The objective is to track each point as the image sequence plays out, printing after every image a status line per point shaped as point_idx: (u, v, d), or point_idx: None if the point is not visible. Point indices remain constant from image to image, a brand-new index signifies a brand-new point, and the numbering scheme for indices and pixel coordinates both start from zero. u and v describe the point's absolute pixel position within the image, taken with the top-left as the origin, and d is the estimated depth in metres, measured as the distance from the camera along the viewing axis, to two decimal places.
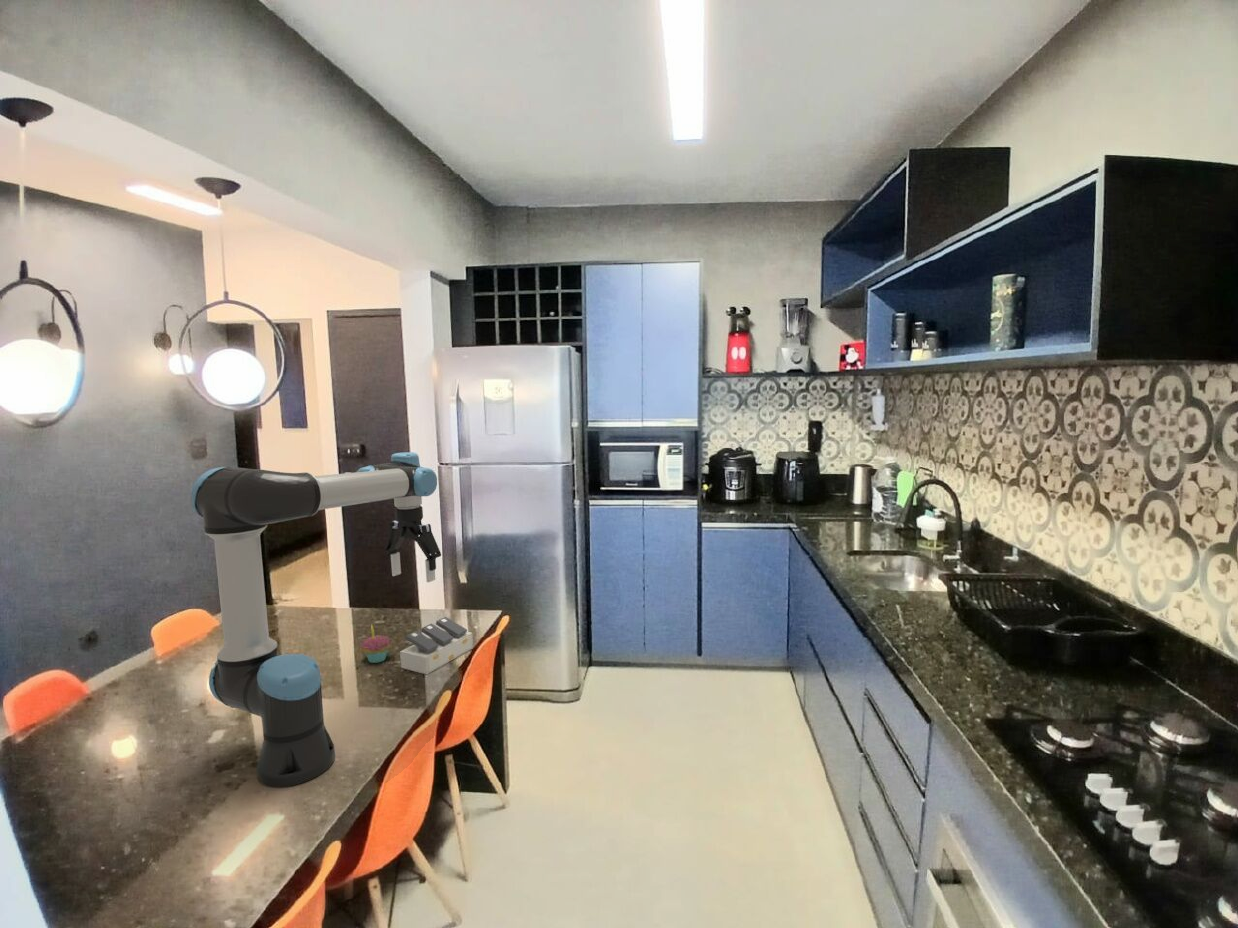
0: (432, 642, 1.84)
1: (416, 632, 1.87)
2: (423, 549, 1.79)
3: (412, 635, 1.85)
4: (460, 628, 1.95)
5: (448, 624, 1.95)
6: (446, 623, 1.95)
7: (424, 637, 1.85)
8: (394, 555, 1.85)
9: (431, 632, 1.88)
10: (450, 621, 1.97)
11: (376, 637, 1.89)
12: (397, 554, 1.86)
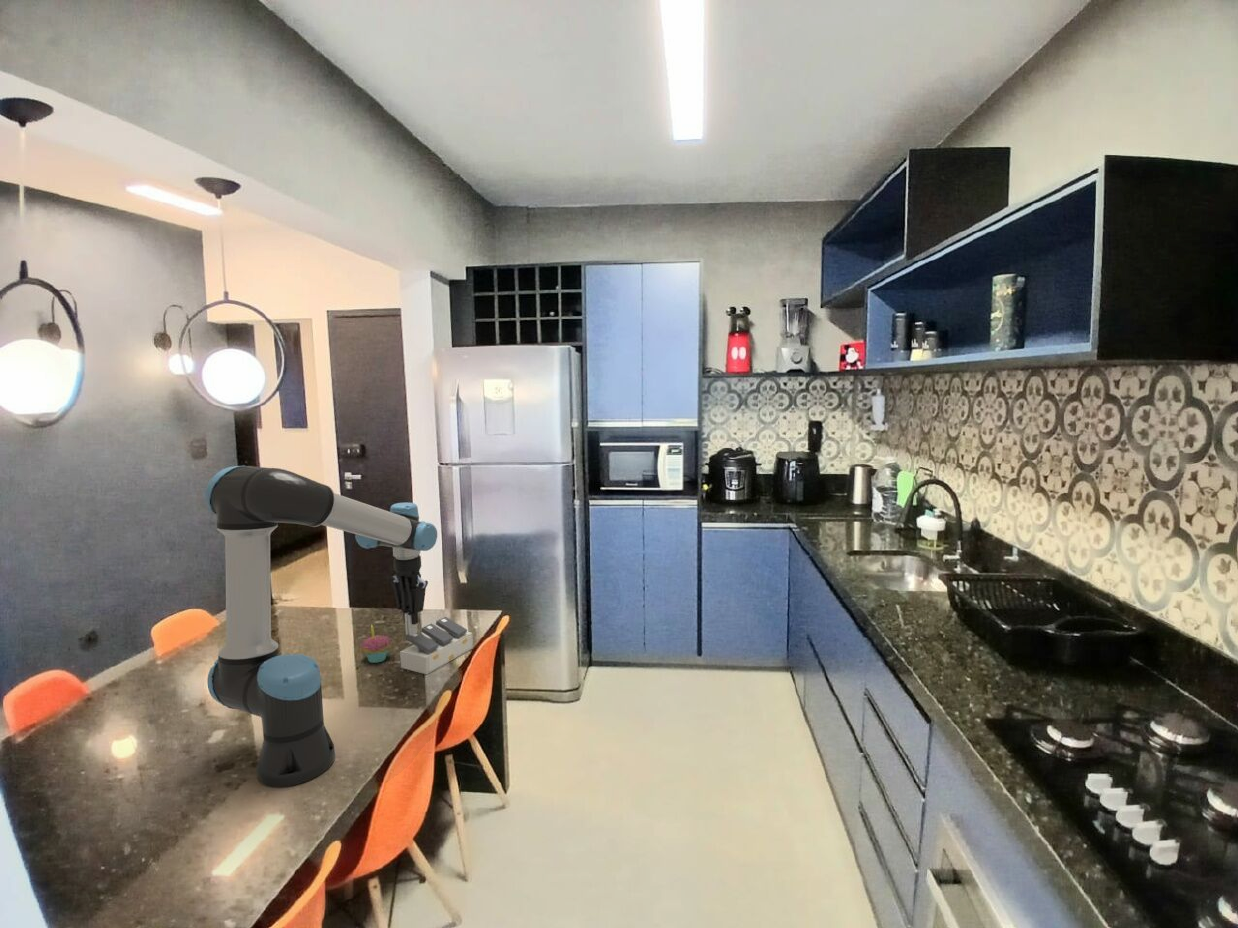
0: (432, 642, 1.84)
1: None
2: (410, 602, 1.83)
3: (412, 636, 1.85)
4: (460, 628, 1.95)
5: (448, 624, 1.95)
6: (446, 623, 1.95)
7: (424, 637, 1.85)
8: (408, 614, 1.85)
9: (431, 632, 1.88)
10: (450, 621, 1.97)
11: (376, 637, 1.89)
12: None
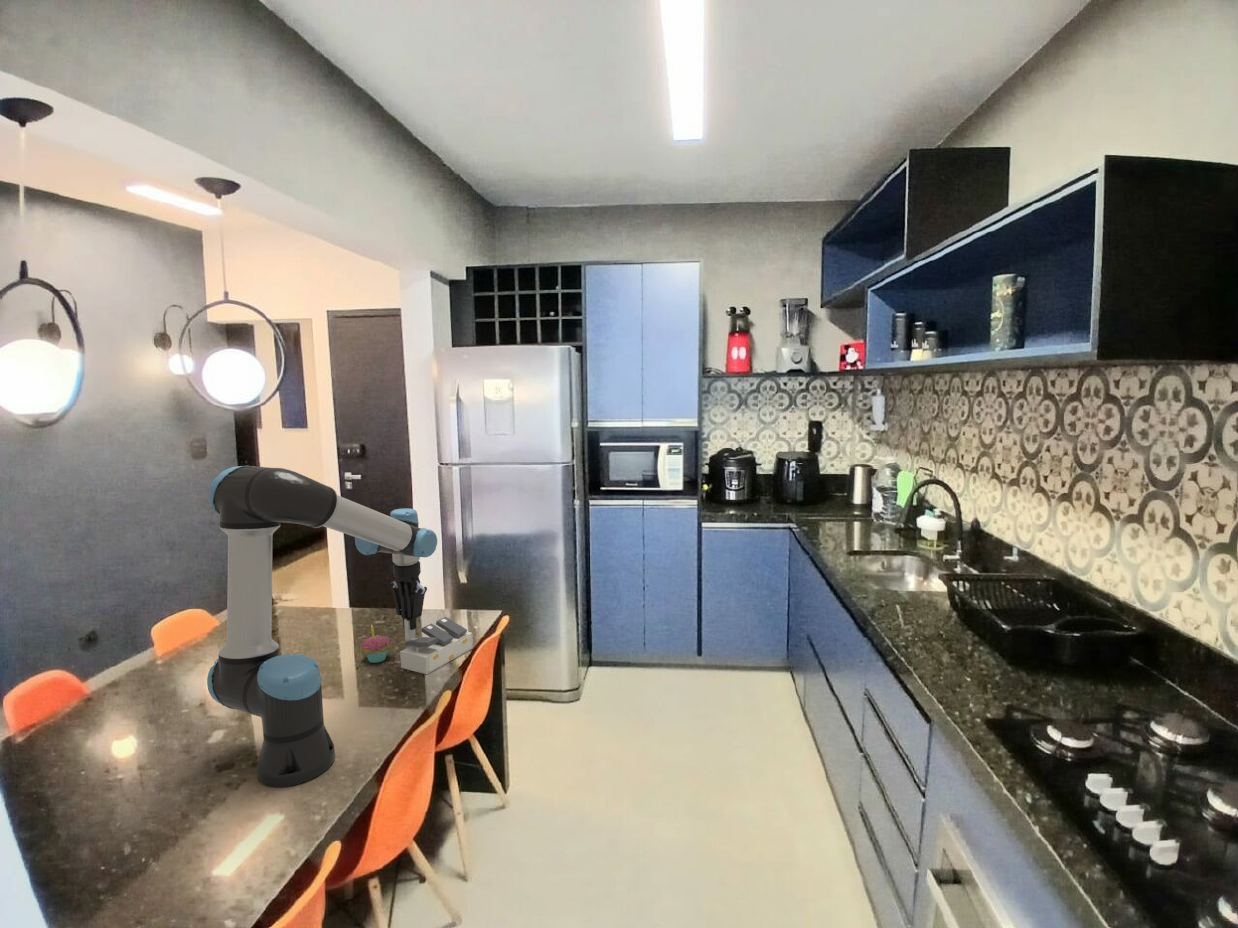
0: (431, 638, 1.84)
1: None
2: (409, 608, 1.83)
3: (411, 640, 1.85)
4: (460, 628, 1.95)
5: (448, 624, 1.95)
6: (446, 623, 1.95)
7: (423, 637, 1.85)
8: None
9: (431, 632, 1.88)
10: (450, 621, 1.97)
11: (376, 637, 1.89)
12: None
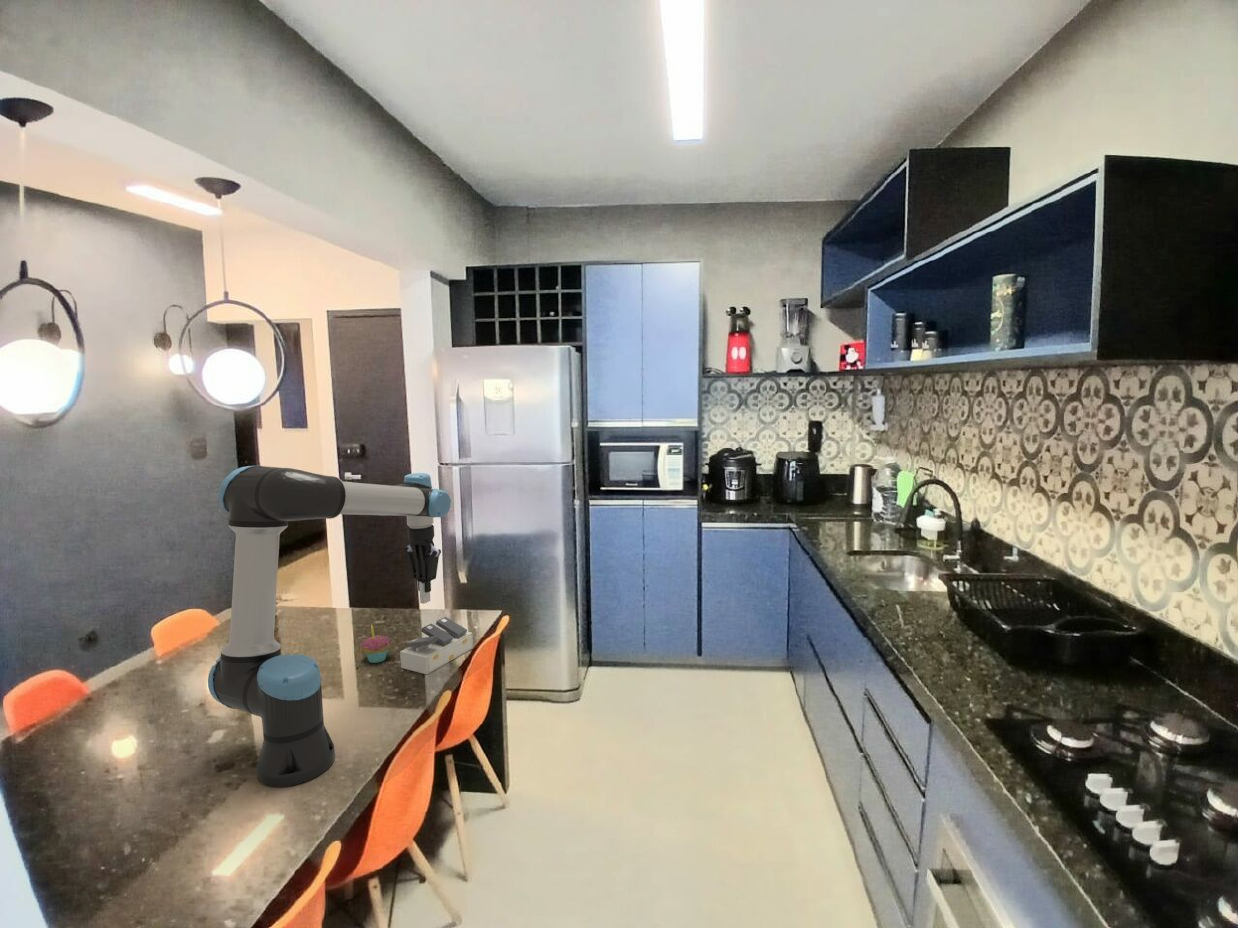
0: (431, 637, 1.84)
1: (415, 639, 1.87)
2: (423, 571, 1.87)
3: (412, 641, 1.85)
4: (460, 628, 1.95)
5: (448, 624, 1.95)
6: (446, 623, 1.95)
7: (423, 638, 1.86)
8: None
9: (431, 632, 1.88)
10: (450, 621, 1.97)
11: (376, 637, 1.89)
12: None
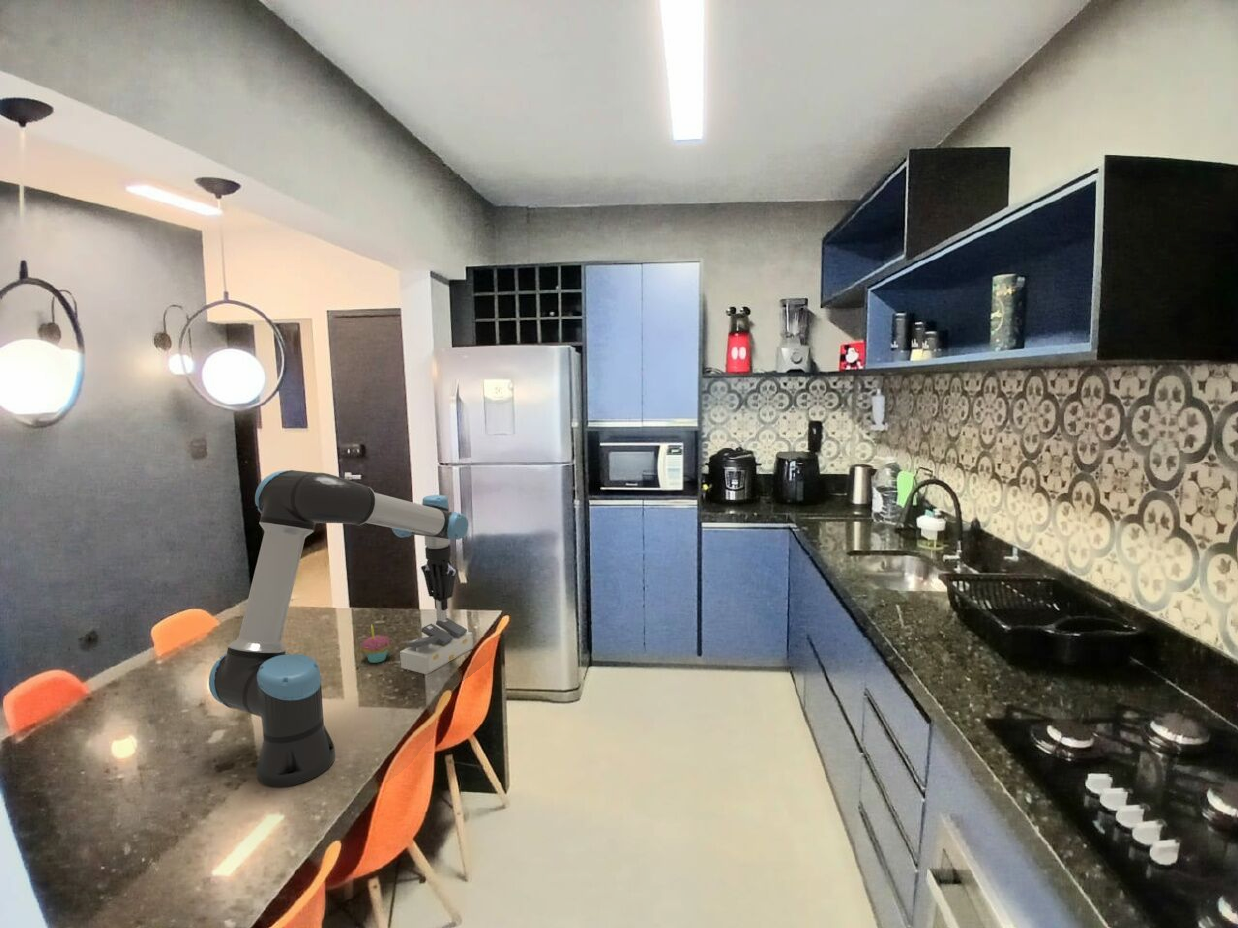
0: (431, 637, 1.84)
1: (415, 639, 1.87)
2: (440, 589, 1.94)
3: (412, 641, 1.85)
4: (460, 628, 1.95)
5: (448, 624, 1.95)
6: (446, 623, 1.95)
7: (423, 638, 1.86)
8: None
9: (431, 632, 1.88)
10: (450, 621, 1.97)
11: (376, 637, 1.89)
12: None
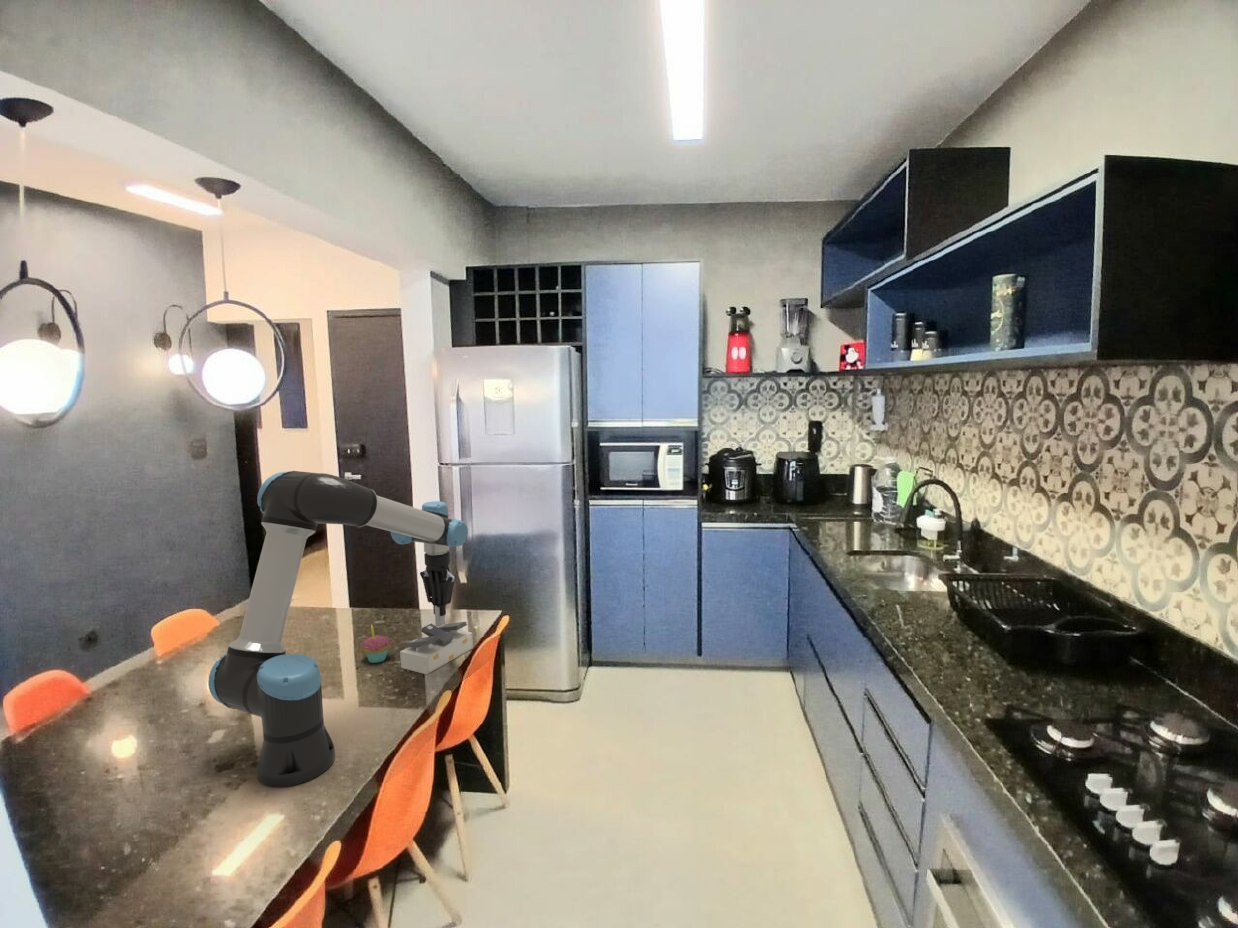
0: (431, 637, 1.84)
1: (415, 639, 1.87)
2: (439, 595, 1.94)
3: (412, 641, 1.85)
4: (459, 623, 1.95)
5: (448, 625, 1.95)
6: (445, 626, 1.95)
7: (423, 638, 1.86)
8: None
9: (431, 632, 1.88)
10: (449, 624, 1.97)
11: (376, 637, 1.89)
12: None
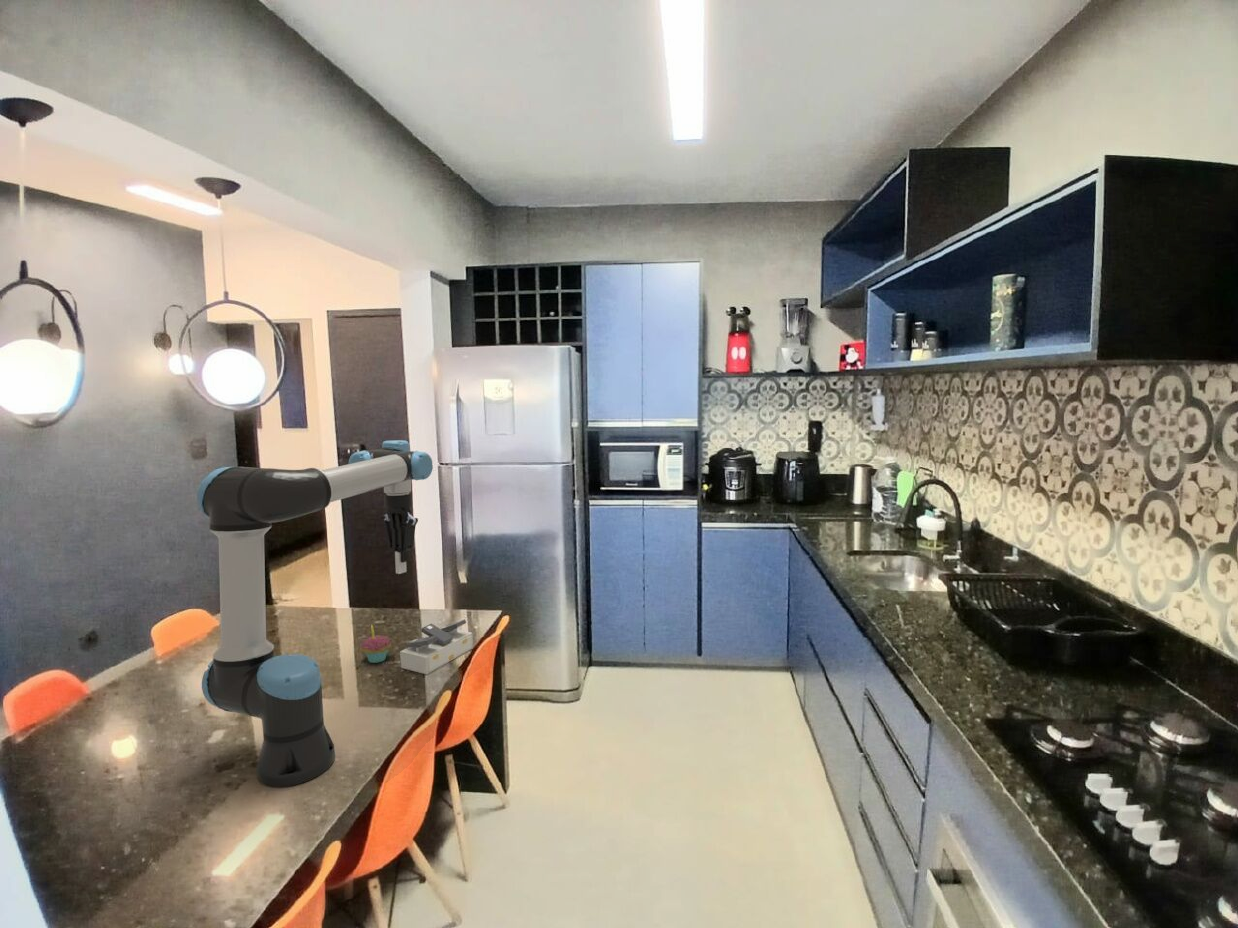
0: (431, 637, 1.84)
1: (415, 639, 1.87)
2: (400, 540, 1.83)
3: (412, 641, 1.85)
4: (459, 621, 1.95)
5: (448, 626, 1.95)
6: (445, 627, 1.95)
7: (423, 638, 1.86)
8: None
9: (431, 632, 1.88)
10: (449, 625, 1.97)
11: (376, 637, 1.89)
12: None
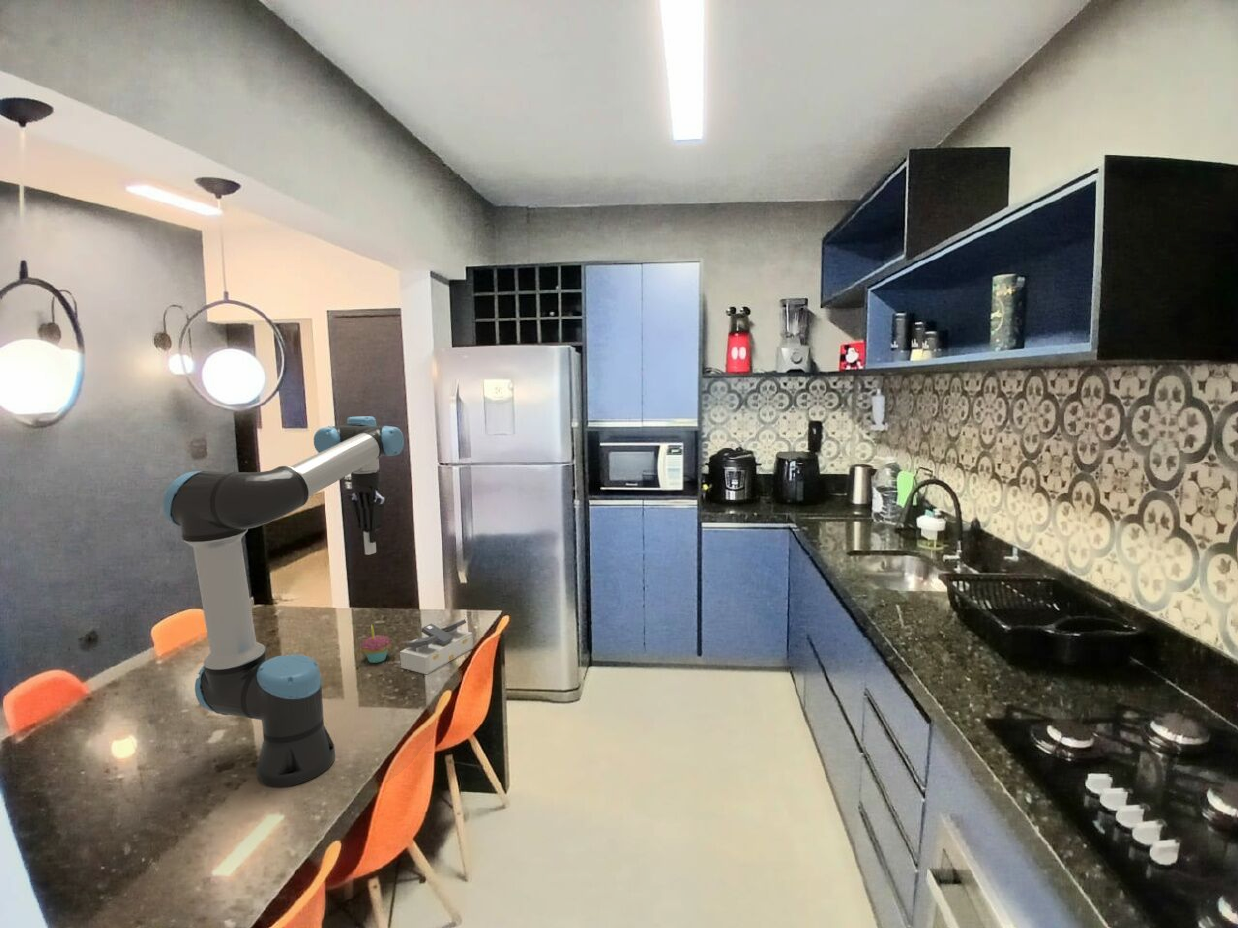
0: (431, 637, 1.84)
1: (415, 639, 1.87)
2: (368, 519, 1.77)
3: (412, 641, 1.85)
4: (459, 621, 1.95)
5: (448, 626, 1.95)
6: (445, 627, 1.95)
7: (423, 638, 1.86)
8: None
9: (431, 632, 1.88)
10: (449, 625, 1.97)
11: (376, 637, 1.89)
12: None
